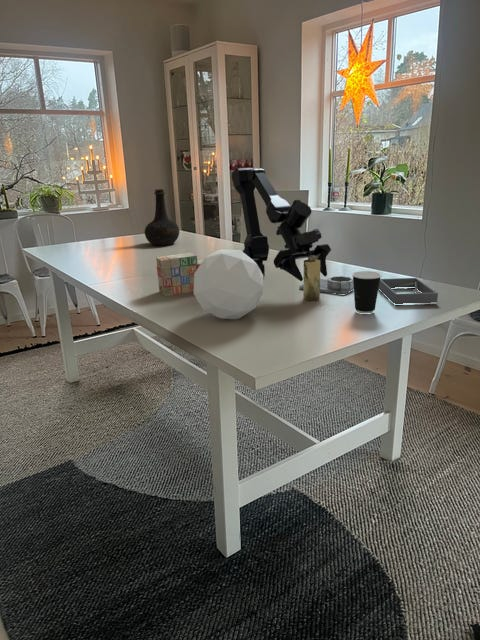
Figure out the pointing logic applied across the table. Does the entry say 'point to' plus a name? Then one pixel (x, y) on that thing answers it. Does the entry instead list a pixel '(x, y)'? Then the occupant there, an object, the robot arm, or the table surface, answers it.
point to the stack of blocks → (177, 273)
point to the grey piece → (336, 285)
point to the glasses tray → (424, 297)
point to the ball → (228, 284)
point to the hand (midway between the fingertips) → (314, 278)
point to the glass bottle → (161, 224)
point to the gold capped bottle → (311, 279)
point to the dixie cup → (365, 290)
